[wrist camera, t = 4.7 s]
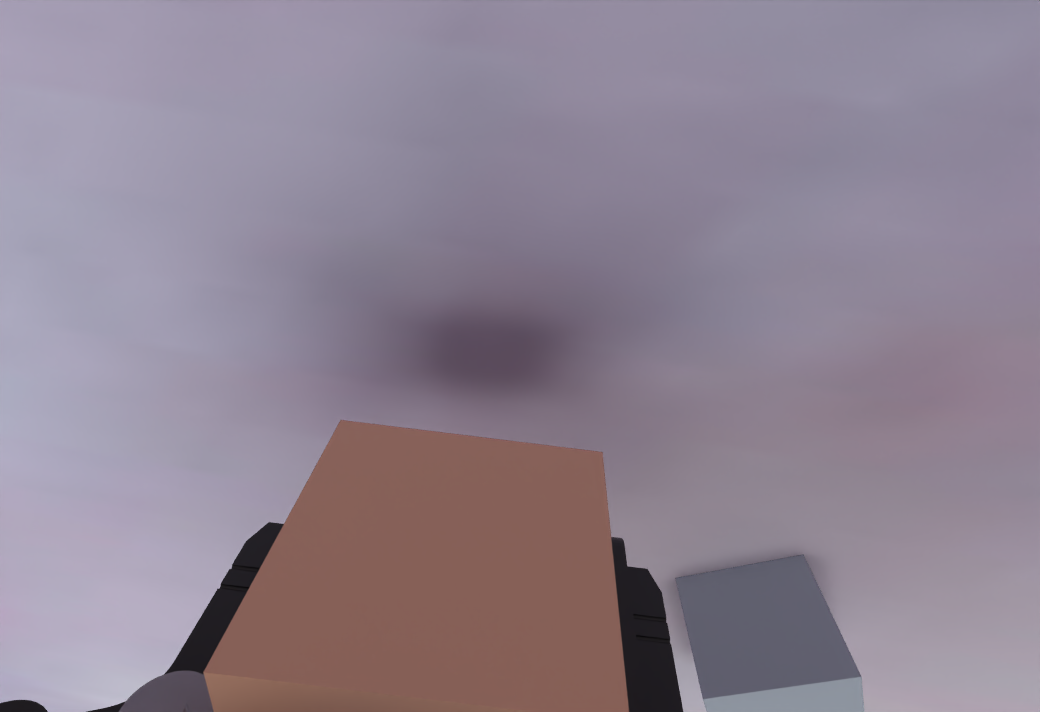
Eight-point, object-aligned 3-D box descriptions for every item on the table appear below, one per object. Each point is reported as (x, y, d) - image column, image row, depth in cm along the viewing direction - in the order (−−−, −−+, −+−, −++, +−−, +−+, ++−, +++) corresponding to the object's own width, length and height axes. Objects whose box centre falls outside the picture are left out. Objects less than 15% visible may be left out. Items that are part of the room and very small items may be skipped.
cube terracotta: (602, 451, 11) (630, 723, 7) (563, 620, 14) (566, 898, 9) (341, 419, 11) (203, 672, 7) (349, 594, 14) (253, 860, 9)
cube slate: (802, 553, 23) (861, 676, 19) (813, 631, 25) (868, 757, 21) (674, 576, 24) (702, 699, 20) (696, 650, 26) (726, 774, 22)
